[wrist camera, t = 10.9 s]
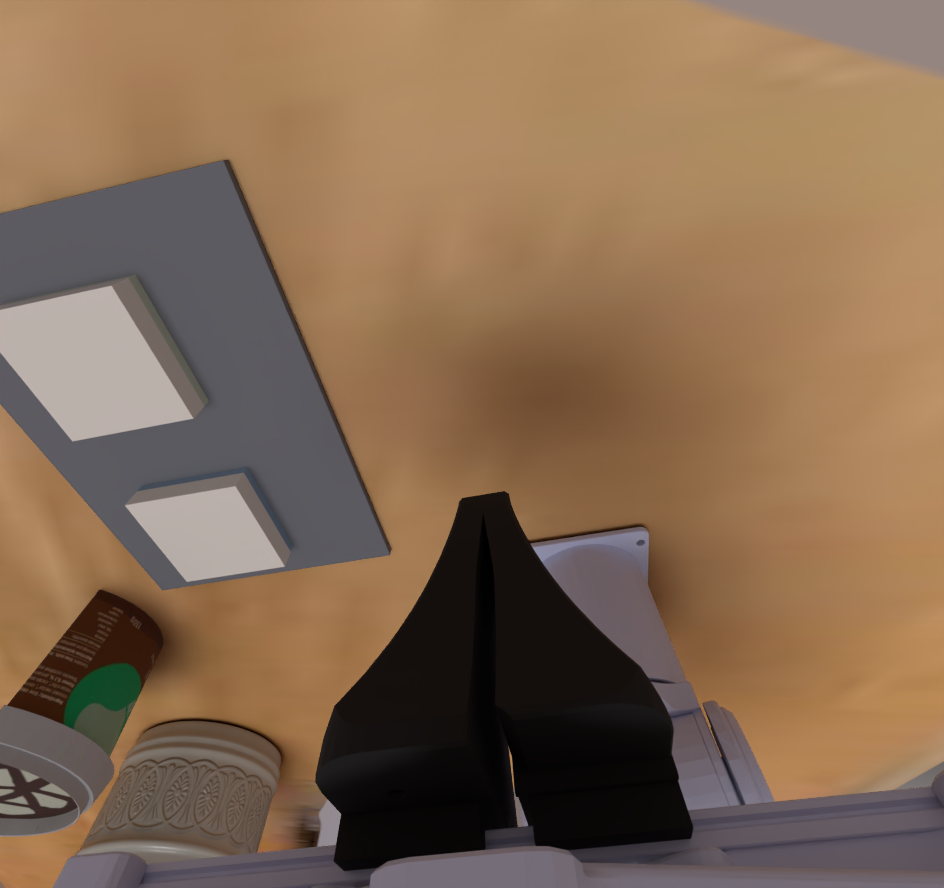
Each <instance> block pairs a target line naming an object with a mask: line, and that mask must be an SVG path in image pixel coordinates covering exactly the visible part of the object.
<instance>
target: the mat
mask: <svg viewBox="0 0 944 888" xmlns="http://www.w3.org/2000/svg"><path fill="white" fill-rule="evenodd" d="M130 275H136V276H137V278H138V280H139V282H140V283H141V285H142V287H143V288H144V290H145V292H146V294H147V295H148V297H149V299H150V300H151V302H152V304H153V306H154V307H155V309H156V311H157V312H158V314H159V316H160V318H161V319H162V321H163V323H164V325H165V326H166V328H167V330H168V331H169V333H170V335H171V337H172V338H173V340H174V342H175V343H176V345H177V347H178V349H179V350H180V352H181V354H182V355H183V357H184V359H185V361H186V362H187V364H188V366H189V368H190V369H191V371H192V373H193V374H194V376H195V378H196V380H197V381H198V383H199V385H200V386H201V388H202V390H203V392H204V393H205V395H206V397H207V398H208V400H209V402H208V403H207V404H206V405H205V406H204V408H203V409H202V410H201V411H200V412H199V413H198V414H197V415H196V416H195V418H194V419H189V420H184V421H178V422H173V423H168V424H162V425H157V426H152V427H146V428H141V429H136V430H130V431H125V432H120V433H114V434H109V435H104V436H98V437H93V438H88V439H83V440H77V441H72V440H71V439H70V438H69V436H68V435H67V434H66V433H65V432H64V430H63V429H62V428H61V427H60V425H59V424H58V423H57V422H56V420H55V419H54V418H53V417H52V416H51V414H50V413H49V412H48V411H47V409H46V408H45V407H44V406H43V405H42V403H41V402H40V401H39V400H38V398H37V397H36V396H35V395H34V393H33V392H32V391H31V390H30V389H29V387H28V386H27V385H26V384H25V382H24V381H23V380H22V379H21V377H20V376H19V375H18V374H17V373H16V371H15V370H14V369H13V368H12V366H11V365H10V364H9V363H8V361H7V360H6V359H5V358H4V357H3V355H2V354H1V353H0V404H1V405H2V407H3V408H4V409H5V410H6V411H7V412H8V413H9V415H10V416H11V417H12V418H13V419H14V420H15V421H16V423H17V424H18V425H19V426H20V427H21V428H22V429H23V431H24V432H25V433H26V434H27V435H28V436H29V438H30V439H31V440H32V441H33V442H34V443H35V444H36V446H37V447H38V448H39V449H40V450H41V451H42V452H43V454H44V455H45V456H46V457H47V458H48V459H49V460H50V462H51V463H52V464H53V465H54V466H55V467H56V469H57V470H58V471H59V472H60V473H61V474H62V475H63V477H64V478H65V479H66V480H67V481H68V482H69V483H70V485H71V486H72V487H73V488H74V489H75V490H76V492H77V493H78V494H79V495H80V496H81V497H82V498H83V500H84V501H85V502H86V503H87V504H88V505H89V506H90V508H91V509H92V510H93V511H94V512H95V513H96V514H97V516H98V517H99V518H100V519H101V520H102V521H103V523H104V524H105V525H106V526H107V527H108V528H109V529H110V531H111V532H112V533H113V534H114V535H115V536H116V537H117V539H118V540H119V541H120V542H121V543H122V544H123V545H124V547H125V548H126V549H127V550H128V551H129V552H130V554H131V555H132V556H133V557H134V558H135V559H136V560H137V562H138V563H139V564H140V565H141V566H142V567H143V568H144V570H145V571H146V572H147V573H148V574H149V575H150V576H151V578H152V579H153V580H154V581H155V582H156V583H157V585H158V586H159V587H160V588H161V589H162V590H167V589H173V588H180V587H186V586H193V585H199V584H206V583H212V582H219V581H225V580H232V579H238V578H245V577H251V576H258V575H264V574H271V573H277V572H284V571H290V570H297V569H303V568H310V567H316V566H323V565H329V564H335V563H342V562H348V561H355V560H361V559H368V558H374V557H381V556H387V555H390V553H391V549H390V547H389V544H388V542H387V540H386V537H385V535H384V533H383V530H382V528H381V525H380V523H379V521H378V518H377V516H376V513H375V511H374V509H373V506H372V504H371V501H370V499H369V497H368V494H367V492H366V489H365V487H364V485H363V482H362V480H361V477H360V475H359V473H358V470H357V468H356V466H355V463H354V461H353V458H352V456H351V454H350V451H349V449H348V446H347V444H346V442H345V439H344V437H343V434H342V432H341V430H340V427H339V425H338V422H337V420H336V418H335V415H334V413H333V410H332V408H331V406H330V403H329V401H328V399H327V396H326V394H325V391H324V389H323V387H322V384H321V382H320V379H319V377H318V375H317V372H316V370H315V367H314V365H313V363H312V360H311V358H310V355H309V353H308V351H307V348H306V346H305V344H304V341H303V339H302V336H301V334H300V332H299V329H298V327H297V324H296V322H295V320H294V317H293V315H292V312H291V310H290V308H289V305H288V303H287V300H286V298H285V296H284V293H283V291H282V288H281V286H280V284H279V281H278V279H277V277H276V274H275V272H274V269H273V267H272V265H271V262H270V260H269V257H268V255H267V253H266V250H265V248H264V245H263V243H262V241H261V238H260V236H259V233H258V231H257V229H256V226H255V224H254V221H253V219H252V217H251V214H250V212H249V210H248V207H247V205H246V202H245V200H244V198H243V195H242V193H241V190H240V188H239V186H238V183H237V181H236V178H235V176H234V174H233V171H232V169H231V166H230V164H229V162H228V160H224V161H219V162H215V163H211V164H207V165H203V166H198V167H194V168H190V169H186V170H182V171H178V172H173V173H169V174H165V175H161V176H157V177H152V178H148V179H144V180H140V181H136V182H132V183H127V184H123V185H119V186H115V187H111V188H106V189H102V190H98V191H94V192H90V193H85V194H81V195H77V196H73V197H69V198H65V199H60V200H56V201H52V202H48V203H44V204H39V205H35V206H31V207H27V208H23V209H19V210H14V211H10V212H6V213H2V214H0V305H1V304H3V303H8V302H12V301H17V300H21V299H26V298H30V297H35V296H39V295H44V294H49V293H53V292H58V291H62V290H67V289H71V288H76V287H80V286H85V285H90V284H94V283H99V282H103V281H108V280H112V279H117V278H121V277H126V276H130ZM243 467H248V469H249V471H250V472H251V474H252V476H253V477H254V479H255V481H256V483H257V484H258V486H259V488H260V489H261V491H262V493H263V495H264V496H265V498H266V500H267V501H268V503H269V505H270V507H271V508H272V510H273V512H274V514H275V515H276V517H277V519H278V520H279V522H280V524H281V526H282V527H283V529H284V531H285V532H286V534H287V536H288V538H289V539H290V541H291V543H292V544H293V548H292V550H291V553H290V555H289V558H288V560H287V563H286V565H285V567H279V568H273V569H266V570H260V571H254V572H247V573H241V574H234V575H228V576H221V577H215V578H208V579H202V580H196V581H189V582H187V581H186V580H185V579H184V578H183V577H182V575H181V574H180V573H179V572H178V570H177V569H176V568H175V567H174V565H173V564H172V563H171V562H170V561H169V559H168V558H167V557H166V556H165V554H164V553H163V552H162V551H161V549H160V548H159V547H158V546H157V545H156V543H155V542H154V541H153V540H152V538H151V537H150V536H149V535H148V533H147V532H146V531H145V530H144V529H143V527H142V526H141V525H140V524H139V522H138V521H137V520H136V519H135V518H134V516H133V515H132V514H131V513H130V511H129V510H128V509H127V508H126V506H125V504H126V503H127V502H128V501H129V500H130V499H131V498H132V496H133V495H134V494H135V493H136V492H137V491H138V490H139V488H140V487H141V486H142V485H147V484H153V483H158V482H164V481H170V480H175V479H181V478H187V477H192V476H198V475H204V474H209V473H215V472H221V471H226V470H232V469H238V468H243Z"/></svg>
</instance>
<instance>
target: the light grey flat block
mask: <svg viewBox="0 0 944 888" xmlns="http://www.w3.org/2000/svg"><path fill="white" fill-rule="evenodd" d="M125 506H126V508H127V509H128V510H129V511H130V513H131V514H132V515H133V516H134V518H135V519H136V520H137V521H138V522H139V524H140V525H141V526H142V527H143V529H144V530H145V531H146V532H147V533H148V535H149V536H150V537H151V538H152V540H153V541H154V542H155V543H156V545H157V546H158V547H159V548H160V549H161V551H162V552H163V553H164V554H165V556H166V557H167V558H168V559H169V561H170V562H171V563H172V564H173V565H174V567H175V568H176V569H177V570H178V572H179V573H180V574H181V575H182V577H183V578H184V579H185V580H186V581H187V582H189V581H196V580H202V579H208V578H215V577H221V576H228V575H234V574H241V573H247V572H254V571H260V570H266V569H273V568H279V567H285V565H286V563H287V560H288V558H289V555H290V553H291V550H292V548H293V544H292V543H291V541H290V539H289V538H288V536H287V534H286V532H285V531H284V529H283V527H282V526H281V524H280V522H279V520H278V519H277V517H276V515H275V514H274V512H273V510H272V508H271V507H270V505H269V503H268V501H267V500H266V498H265V496H264V495H263V493H262V491H261V489H260V488H259V486H258V484H257V483H256V481H255V479H254V477H253V476H252V474H251V472H250V471H249V469H248V467H243V468H238V469H232V470H226V471H221V472H215V473H209V474H204V475H198V476H192V477H187V478H181V479H175V480H170V481H164V482H158V483H153V484H147V485H142V486H141V487H140V488H139V490H138V491H137V492H136V493H135V494H134V495H133V496H132V498H131V499H130V500H129V501H128V502H127V503H126V504H125Z"/></svg>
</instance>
